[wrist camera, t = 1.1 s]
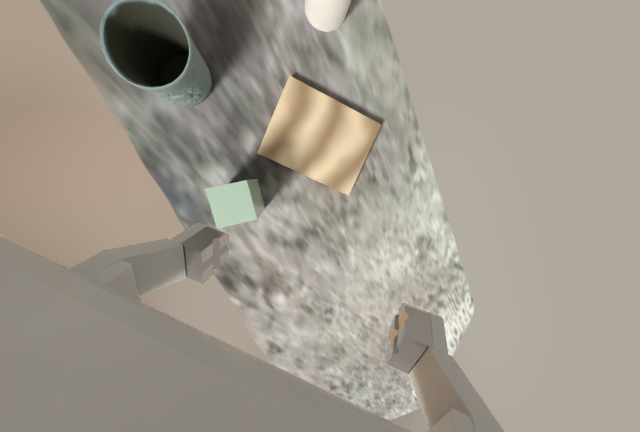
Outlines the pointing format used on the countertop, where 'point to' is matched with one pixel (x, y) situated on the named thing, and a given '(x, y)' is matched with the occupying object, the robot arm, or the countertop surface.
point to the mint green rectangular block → (235, 202)
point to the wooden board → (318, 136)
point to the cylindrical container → (326, 13)
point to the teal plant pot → (154, 51)
